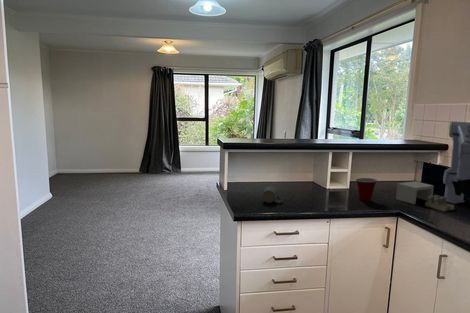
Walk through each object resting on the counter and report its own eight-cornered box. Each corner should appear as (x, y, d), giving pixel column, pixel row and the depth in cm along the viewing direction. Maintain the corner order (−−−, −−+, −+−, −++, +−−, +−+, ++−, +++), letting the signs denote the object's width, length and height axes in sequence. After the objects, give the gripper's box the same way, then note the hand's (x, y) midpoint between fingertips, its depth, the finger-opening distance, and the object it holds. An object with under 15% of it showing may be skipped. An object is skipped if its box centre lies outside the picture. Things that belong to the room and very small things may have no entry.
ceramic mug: (261, 202, 168) (261, 188, 167) (264, 198, 176) (264, 185, 174) (281, 205, 165) (282, 191, 164) (283, 201, 173) (284, 187, 171)
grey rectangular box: (413, 196, 187) (415, 181, 186) (431, 201, 177) (433, 185, 176) (395, 198, 181) (397, 183, 179) (414, 204, 171) (415, 188, 169)
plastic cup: (357, 196, 184) (359, 176, 183) (377, 200, 178) (379, 179, 176) (351, 200, 176) (352, 179, 174) (371, 204, 169) (373, 182, 168)
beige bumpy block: (434, 204, 172) (435, 194, 171) (453, 210, 163) (455, 199, 163) (425, 206, 169) (426, 196, 168) (444, 211, 160) (445, 201, 159)
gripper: (464, 169, 147) (461, 198, 149) (482, 167, 154) (479, 195, 156) (449, 167, 154) (445, 194, 156) (467, 165, 160) (463, 191, 162)
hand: (461, 194), depth 156 cm, fingers open, 5 cm apart
